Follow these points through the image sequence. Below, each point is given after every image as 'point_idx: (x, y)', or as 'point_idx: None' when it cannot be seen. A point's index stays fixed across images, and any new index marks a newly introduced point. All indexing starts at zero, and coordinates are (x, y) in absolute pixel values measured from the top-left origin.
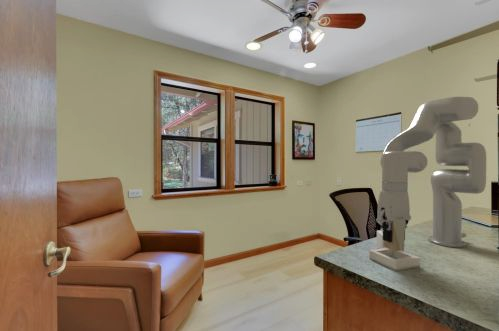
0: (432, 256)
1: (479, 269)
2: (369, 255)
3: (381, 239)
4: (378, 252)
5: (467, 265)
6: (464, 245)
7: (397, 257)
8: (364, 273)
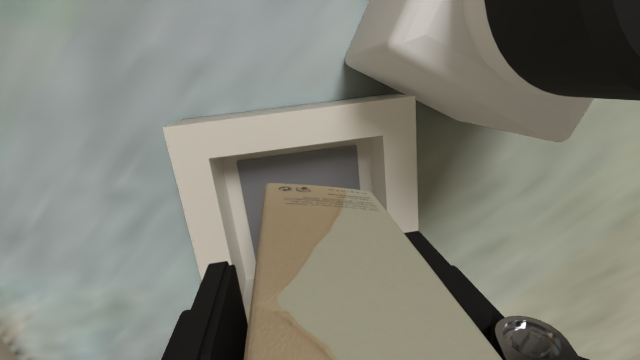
0: (611, 165)
1: (624, 325)
2: (177, 122)
3: (383, 23)
4: (209, 185)
5: (631, 287)
6: None
7: (372, 169)
8: (21, 300)
